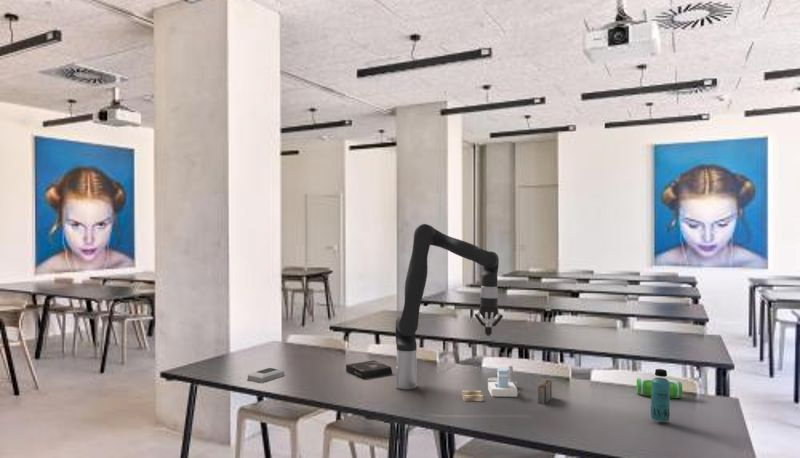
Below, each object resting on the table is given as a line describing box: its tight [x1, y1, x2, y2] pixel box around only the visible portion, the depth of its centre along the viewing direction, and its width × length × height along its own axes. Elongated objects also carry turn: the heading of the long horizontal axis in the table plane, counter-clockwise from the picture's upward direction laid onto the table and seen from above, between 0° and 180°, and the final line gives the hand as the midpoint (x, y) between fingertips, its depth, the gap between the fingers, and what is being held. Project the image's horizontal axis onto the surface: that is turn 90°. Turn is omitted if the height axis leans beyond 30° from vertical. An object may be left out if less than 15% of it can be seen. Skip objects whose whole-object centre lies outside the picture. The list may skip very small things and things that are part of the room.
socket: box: [487, 381, 518, 398], centre depth 245 cm, size 11×11×4 cm
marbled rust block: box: [537, 379, 553, 405], centre depth 238 cm, size 11×3×10 cm, turn 150°
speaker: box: [636, 377, 683, 399], centre depth 244 cm, size 18×7×8 cm, turn 72°
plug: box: [496, 368, 509, 388], centre depth 245 cm, size 4×4×10 cm
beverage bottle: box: [650, 368, 671, 422], centre depth 211 cm, size 6×7×20 cm
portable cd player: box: [345, 359, 393, 380], centre depth 282 cm, size 16×17×4 cm
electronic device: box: [487, 365, 518, 389], centre depth 260 cm, size 5×10×15 cm
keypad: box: [247, 366, 285, 384], centre depth 272 cm, size 10×4×15 cm
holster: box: [461, 390, 484, 402], centre depth 238 cm, size 8×8×3 cm
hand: (488, 335), depth 250 cm, fingers closed
